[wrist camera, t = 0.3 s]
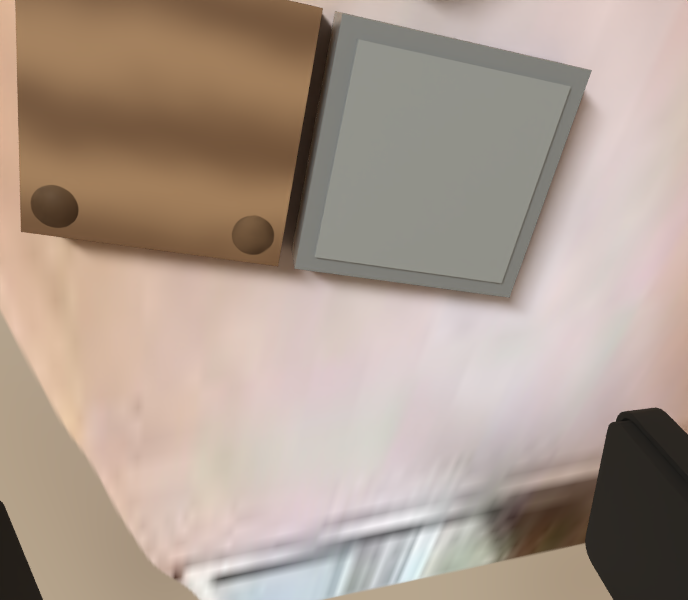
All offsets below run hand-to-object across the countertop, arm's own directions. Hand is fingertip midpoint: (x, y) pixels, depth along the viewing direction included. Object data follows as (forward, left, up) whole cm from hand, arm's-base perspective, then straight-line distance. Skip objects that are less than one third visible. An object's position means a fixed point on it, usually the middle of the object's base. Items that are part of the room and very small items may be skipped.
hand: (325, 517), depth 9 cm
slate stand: (0, +9, -29) cm, 30 cm away
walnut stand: (0, -6, -29) cm, 29 cm away
